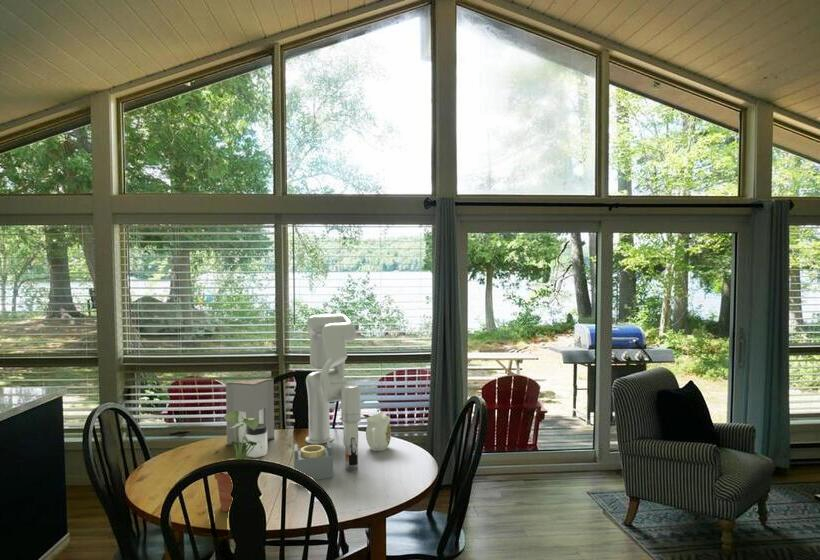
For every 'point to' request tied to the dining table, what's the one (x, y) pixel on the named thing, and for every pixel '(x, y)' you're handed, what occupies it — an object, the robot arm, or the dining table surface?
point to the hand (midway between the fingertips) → (351, 460)
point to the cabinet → (250, 406)
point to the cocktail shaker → (347, 466)
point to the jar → (256, 436)
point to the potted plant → (224, 478)
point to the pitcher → (378, 432)
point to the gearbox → (314, 461)
